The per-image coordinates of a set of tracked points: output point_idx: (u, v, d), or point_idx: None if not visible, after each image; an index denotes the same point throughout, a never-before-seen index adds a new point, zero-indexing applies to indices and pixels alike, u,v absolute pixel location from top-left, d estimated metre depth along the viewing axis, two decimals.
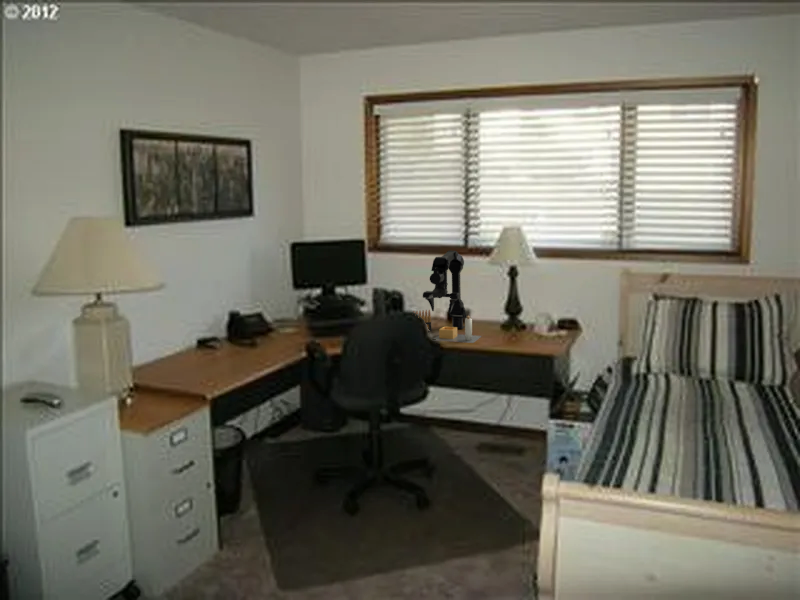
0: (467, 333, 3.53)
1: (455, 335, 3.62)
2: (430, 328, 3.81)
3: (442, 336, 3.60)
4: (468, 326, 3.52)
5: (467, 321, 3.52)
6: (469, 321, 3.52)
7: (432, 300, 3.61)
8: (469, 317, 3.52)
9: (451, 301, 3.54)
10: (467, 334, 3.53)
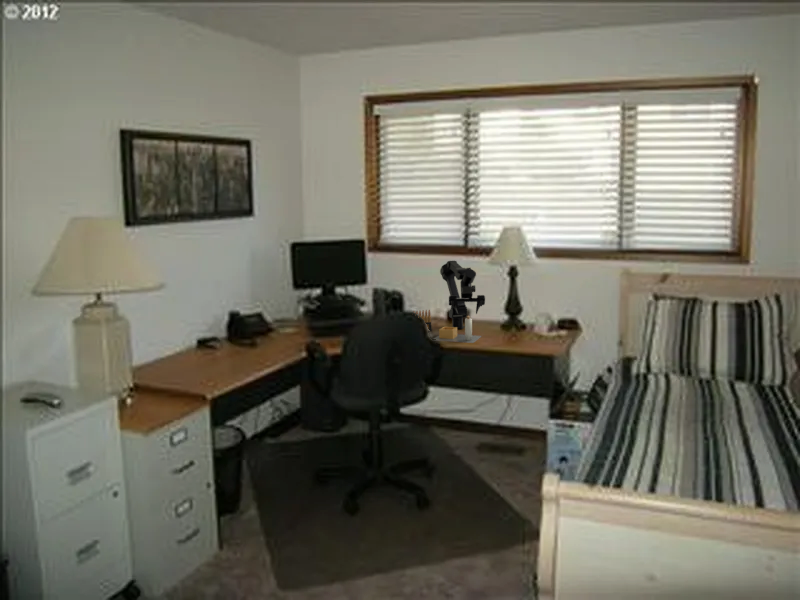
0: (467, 333, 3.53)
1: (455, 335, 3.62)
2: (430, 328, 3.81)
3: (442, 336, 3.60)
4: (468, 326, 3.52)
5: (467, 321, 3.52)
6: (469, 321, 3.52)
7: None
8: (469, 317, 3.52)
9: (478, 301, 3.61)
10: (467, 334, 3.53)
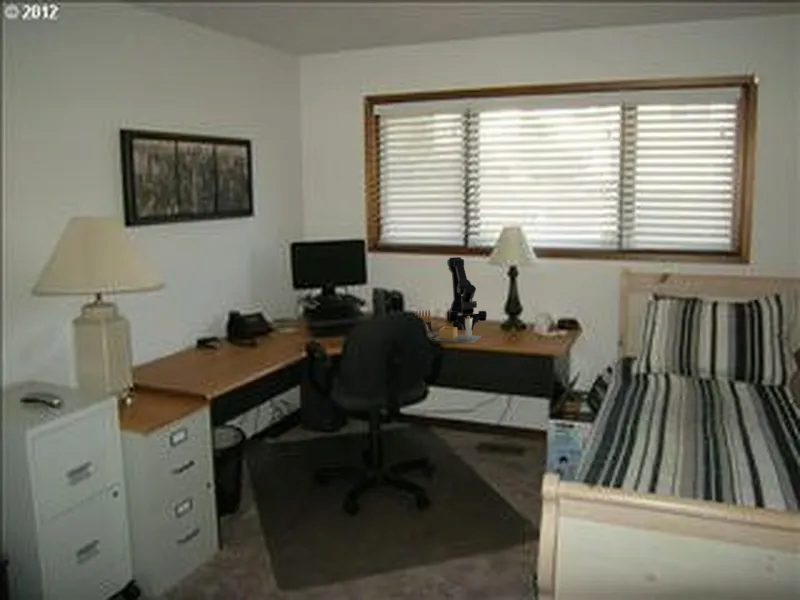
0: (467, 333, 3.53)
1: (455, 335, 3.62)
2: (430, 328, 3.81)
3: (442, 336, 3.60)
4: (468, 326, 3.52)
5: (467, 321, 3.52)
6: (469, 321, 3.52)
7: None
8: (469, 317, 3.52)
9: (474, 317, 3.54)
10: (467, 334, 3.53)
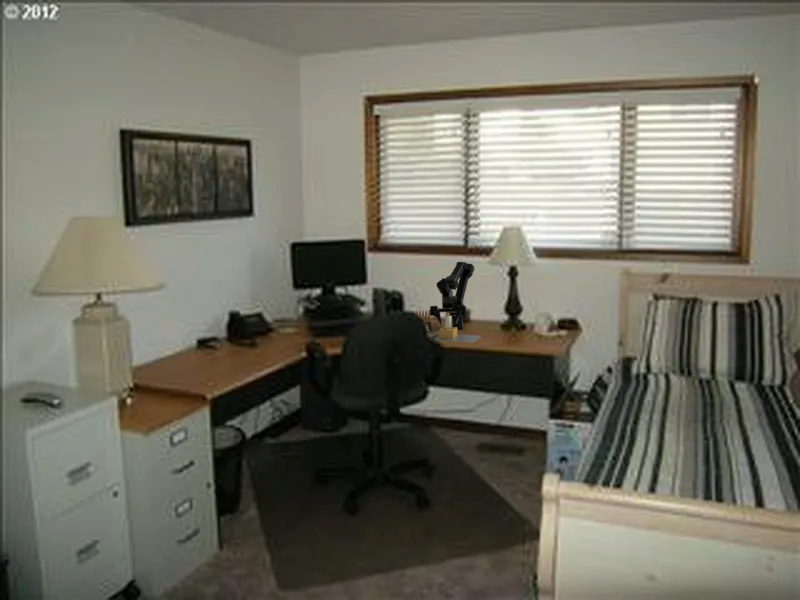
0: None
1: (455, 335, 3.62)
2: (430, 328, 3.81)
3: (442, 336, 3.60)
4: (448, 323, 3.60)
5: (447, 318, 3.60)
6: (449, 318, 3.59)
7: (439, 315, 3.64)
8: (449, 314, 3.60)
9: (458, 311, 3.62)
10: None
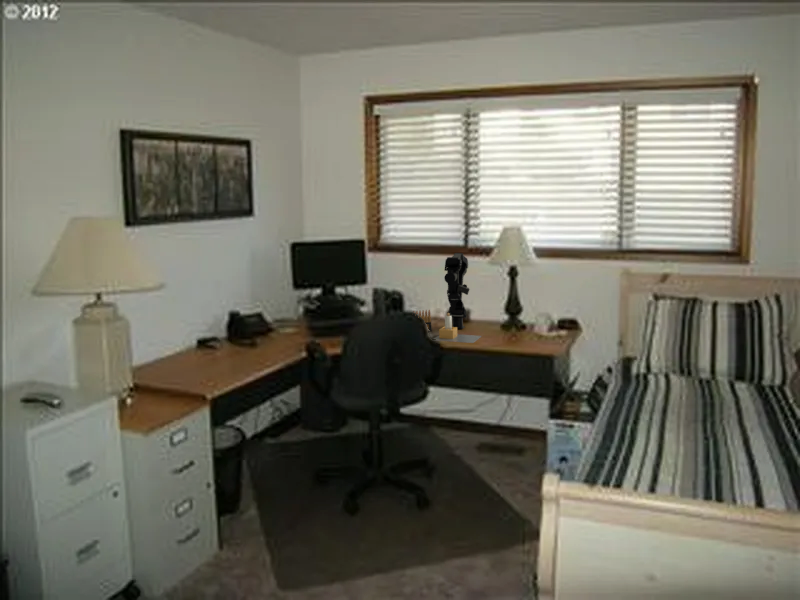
0: None
1: (455, 335, 3.62)
2: (430, 328, 3.81)
3: (442, 336, 3.60)
4: (448, 323, 3.60)
5: (447, 318, 3.60)
6: (449, 318, 3.60)
7: None
8: (449, 314, 3.60)
9: None
10: None
